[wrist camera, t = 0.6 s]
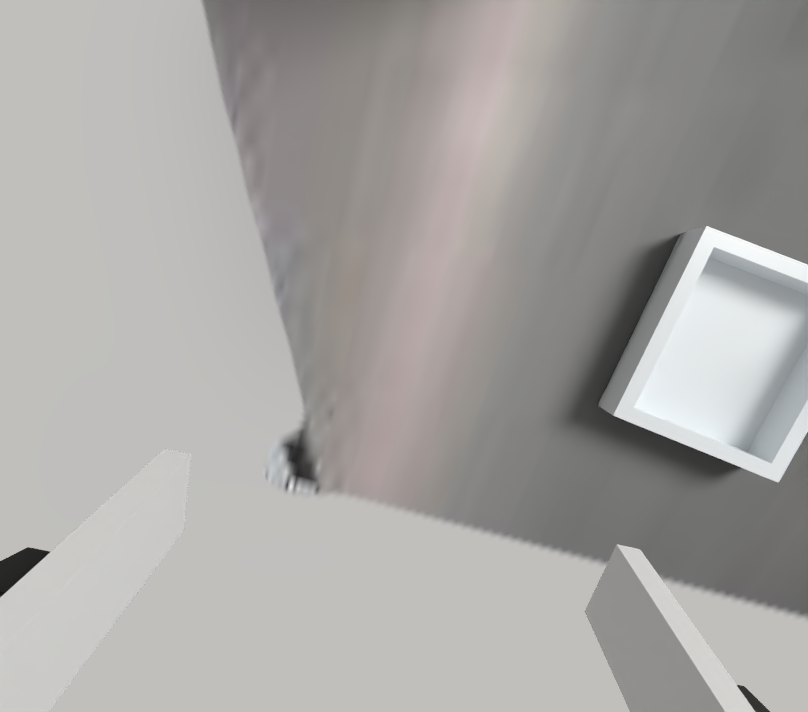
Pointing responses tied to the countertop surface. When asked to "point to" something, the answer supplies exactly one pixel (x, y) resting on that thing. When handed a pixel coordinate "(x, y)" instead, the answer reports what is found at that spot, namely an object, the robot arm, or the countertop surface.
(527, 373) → the countertop surface
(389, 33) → the countertop surface
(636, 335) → the tray
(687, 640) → the robot arm
